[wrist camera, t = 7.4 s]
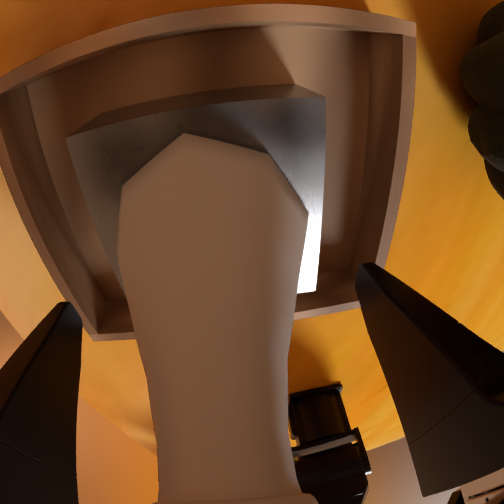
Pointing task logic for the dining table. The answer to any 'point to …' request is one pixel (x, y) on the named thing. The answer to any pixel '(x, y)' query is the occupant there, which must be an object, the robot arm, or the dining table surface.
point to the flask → (215, 317)
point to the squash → (488, 94)
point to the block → (213, 127)
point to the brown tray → (205, 79)
